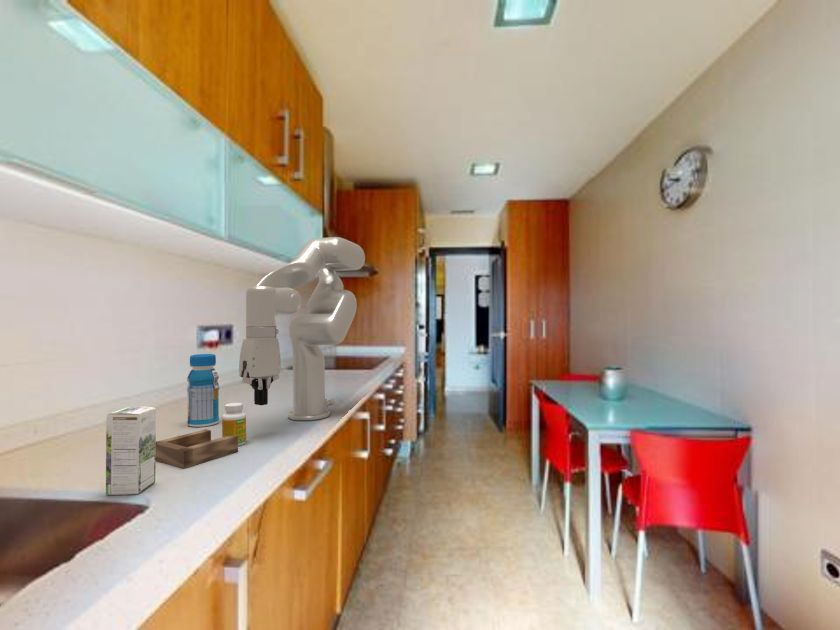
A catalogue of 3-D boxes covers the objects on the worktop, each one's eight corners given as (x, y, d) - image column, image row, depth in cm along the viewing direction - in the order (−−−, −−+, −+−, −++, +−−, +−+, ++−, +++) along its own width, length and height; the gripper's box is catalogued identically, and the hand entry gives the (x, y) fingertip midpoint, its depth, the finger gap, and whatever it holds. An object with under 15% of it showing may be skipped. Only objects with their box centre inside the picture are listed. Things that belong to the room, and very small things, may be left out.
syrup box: (124, 483, 84) (123, 406, 84) (157, 482, 84) (156, 405, 84) (105, 496, 78) (104, 413, 78) (140, 494, 79) (139, 412, 79)
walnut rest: (205, 444, 109) (205, 429, 109) (238, 451, 103) (238, 435, 103) (151, 459, 98) (151, 442, 98) (183, 468, 92) (183, 451, 92)
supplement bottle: (237, 447, 106) (237, 407, 106) (217, 446, 107) (217, 406, 107) (250, 441, 111) (250, 402, 111) (231, 440, 112) (230, 401, 112)
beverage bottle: (196, 429, 123) (195, 356, 123) (181, 424, 128) (180, 355, 128) (225, 423, 130) (224, 354, 130) (210, 419, 135) (209, 353, 135)
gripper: (274, 332, 124) (273, 398, 124) (226, 334, 112) (226, 407, 111) (293, 333, 121) (293, 401, 120) (246, 334, 108) (246, 410, 108)
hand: (261, 404), depth 116 cm, fingers closed
